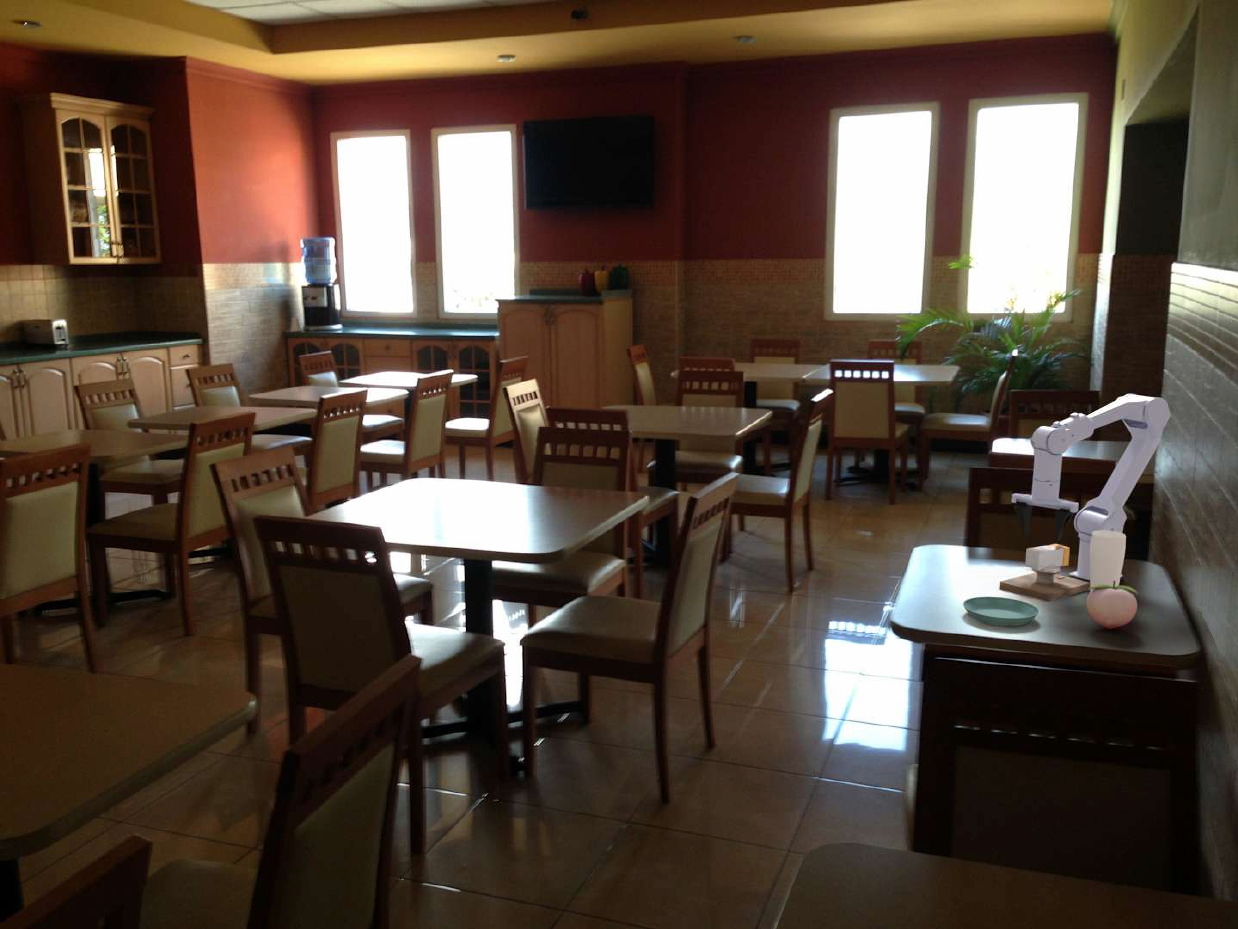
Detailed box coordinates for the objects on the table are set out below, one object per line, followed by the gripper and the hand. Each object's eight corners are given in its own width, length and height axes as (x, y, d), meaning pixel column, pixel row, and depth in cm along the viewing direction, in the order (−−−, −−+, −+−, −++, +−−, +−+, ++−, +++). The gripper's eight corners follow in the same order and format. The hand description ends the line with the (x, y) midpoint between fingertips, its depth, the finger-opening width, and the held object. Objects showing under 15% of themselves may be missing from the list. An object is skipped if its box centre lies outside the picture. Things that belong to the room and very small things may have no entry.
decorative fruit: (1095, 636, 202) (1099, 586, 200) (1078, 622, 210) (1082, 575, 208) (1144, 637, 201) (1149, 587, 199) (1126, 623, 209) (1130, 575, 208)
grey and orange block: (1020, 569, 233) (1022, 547, 232) (1050, 564, 237) (1052, 542, 236) (1041, 576, 227) (1043, 553, 227) (1071, 571, 231) (1073, 548, 231)
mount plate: (1041, 576, 242) (1042, 560, 241) (1089, 589, 232) (1090, 572, 232) (999, 588, 233) (1000, 570, 233) (1047, 601, 223) (1048, 583, 223)
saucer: (1041, 613, 216) (1041, 601, 216) (1035, 635, 203) (1036, 622, 202) (967, 604, 222) (968, 592, 222) (957, 624, 209) (958, 611, 209)
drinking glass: (1080, 601, 224) (1086, 533, 221) (1092, 594, 229) (1098, 528, 226) (1113, 608, 219) (1119, 539, 216) (1124, 601, 224) (1131, 534, 221)
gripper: (1007, 477, 236) (1003, 534, 239) (1071, 486, 226) (1065, 546, 228) (1021, 473, 241) (1016, 530, 244) (1084, 482, 231) (1078, 541, 233)
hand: (1041, 537), depth 236 cm, fingers open, 7 cm apart
